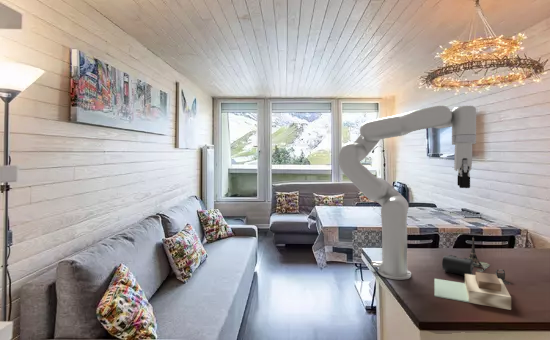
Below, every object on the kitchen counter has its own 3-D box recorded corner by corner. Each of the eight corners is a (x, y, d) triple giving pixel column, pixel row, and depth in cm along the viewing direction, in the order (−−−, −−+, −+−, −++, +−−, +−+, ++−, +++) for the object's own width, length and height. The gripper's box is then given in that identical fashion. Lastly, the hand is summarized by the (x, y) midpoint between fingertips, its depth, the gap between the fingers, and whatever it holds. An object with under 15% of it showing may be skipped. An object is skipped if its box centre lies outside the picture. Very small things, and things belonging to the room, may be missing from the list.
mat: (434, 296, 102) (434, 295, 102) (434, 279, 116) (434, 278, 116) (470, 302, 97) (470, 301, 97) (466, 284, 111) (466, 283, 111)
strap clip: (489, 276, 120) (489, 265, 120) (498, 276, 119) (498, 265, 119) (502, 284, 111) (502, 273, 111) (511, 285, 111) (511, 273, 111)
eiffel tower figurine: (482, 273, 123) (483, 241, 123) (455, 267, 131) (455, 237, 130) (492, 264, 133) (492, 235, 133) (466, 259, 141) (466, 231, 140)
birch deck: (468, 302, 98) (469, 290, 97) (464, 284, 112) (464, 273, 112) (511, 310, 92) (511, 297, 92) (501, 289, 106) (501, 278, 106)
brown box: (478, 288, 99) (478, 280, 99) (475, 278, 107) (475, 271, 107) (501, 291, 96) (501, 284, 96) (496, 281, 104) (496, 274, 104)
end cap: (441, 273, 123) (442, 257, 123) (446, 268, 128) (446, 252, 128) (470, 279, 116) (470, 262, 116) (474, 274, 121) (474, 258, 121)
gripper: (450, 141, 119) (450, 184, 119) (453, 139, 103) (452, 188, 104) (473, 141, 115) (473, 185, 116) (479, 138, 100) (478, 189, 100)
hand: (463, 186), depth 110 cm, fingers open, 9 cm apart
